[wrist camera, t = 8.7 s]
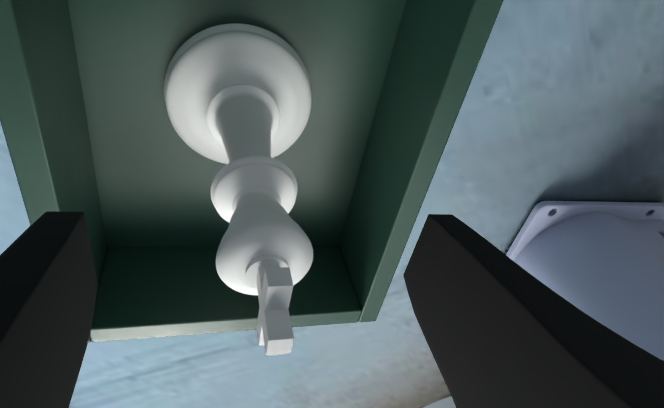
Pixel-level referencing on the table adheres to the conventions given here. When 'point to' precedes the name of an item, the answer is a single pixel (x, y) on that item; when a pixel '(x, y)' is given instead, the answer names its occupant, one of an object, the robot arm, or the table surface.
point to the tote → (198, 171)
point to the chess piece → (248, 158)
